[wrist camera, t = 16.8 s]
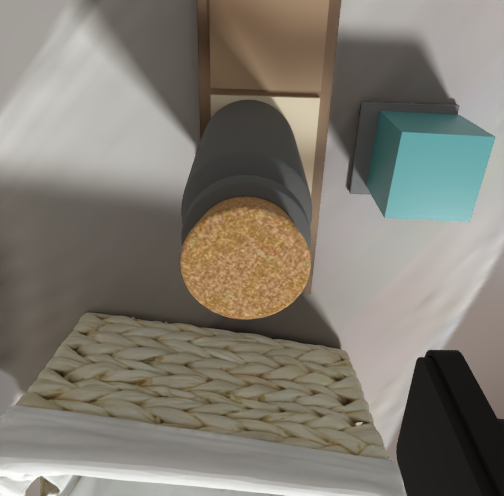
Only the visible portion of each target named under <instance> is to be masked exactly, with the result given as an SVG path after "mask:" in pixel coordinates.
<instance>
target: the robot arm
mask: <svg viewBox="0 0 504 496" xmlns="http://www.w3.org/2000/svg"><path fill="white" fill-rule="evenodd" d="M396 453H397V461H398V466H399V469H400V472H401V476H402V479H403V483H404V486H405V489H406V492H407V496H504V419H497V417H496V415H495V413H494V412H493V410H492V408H491V406H490V405H489V403H488V401H487V399H486V397H485V395H484V393H483V392H482V390H481V388H480V386H479V384H478V382H477V381H476V379H475V377H474V375H473V373H472V371H471V370H470V368H469V366H468V364H467V362H466V361H465V359H464V357H463V355H462V354H461V353H460V352H459V351H457V350H428V351H427V353H426V355H425V357H420V358H418V359H417V361H416V365H415V369H414V374H413V378H412V382H411V386H410V391H409V395H408V399H407V404H406V408H405V412H404V417H403V421H402V425H401V429H400V434H399V438H398V443H397V452H396Z"/></svg>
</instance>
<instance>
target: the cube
mask: <svg viewBox="0 0 504 496" xmlns="http://www.w3.org/2000/svg"><path fill="white" fill-rule="evenodd" d="M494 140H495V136H493V135H491V134H490V133H488V132H486V131H485V130H483V129H482V128H480V127H478V126H477V125H475V124H473V123H472V122H470V121H469V120H467V119H465V118H464V117H462V116H460V115H452V114H433V113H415V112H397V111H380V113H379V119H378V124H377V130H376V135H375V141H374V147H373V152H372V158H371V163H370V169H369V174H368V180H367V188H368V190H369V192H370V193H371V195H372V197H373V199H374V200H375V202H376V204H377V206H378V207H379V209H380V211H381V213H382V214H383V216H384V218H399V219H419V220H439V221H459V222H470V220H471V217H472V213H473V210H474V207H475V203H476V200H477V197H478V193H479V190H480V187H481V183H482V180H483V177H484V173H485V170H486V167H487V163H488V160H489V156H490V153H491V150H492V146H493V143H494Z"/></svg>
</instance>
